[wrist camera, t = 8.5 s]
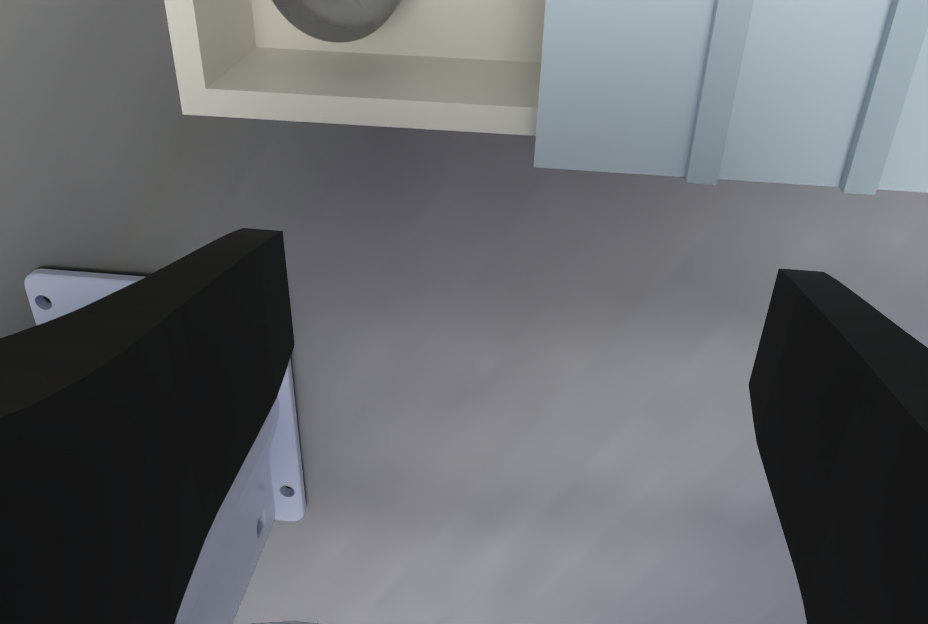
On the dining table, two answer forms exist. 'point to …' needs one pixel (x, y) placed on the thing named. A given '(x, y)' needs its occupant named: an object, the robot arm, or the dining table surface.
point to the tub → (364, 66)
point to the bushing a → (337, 17)
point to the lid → (738, 91)
